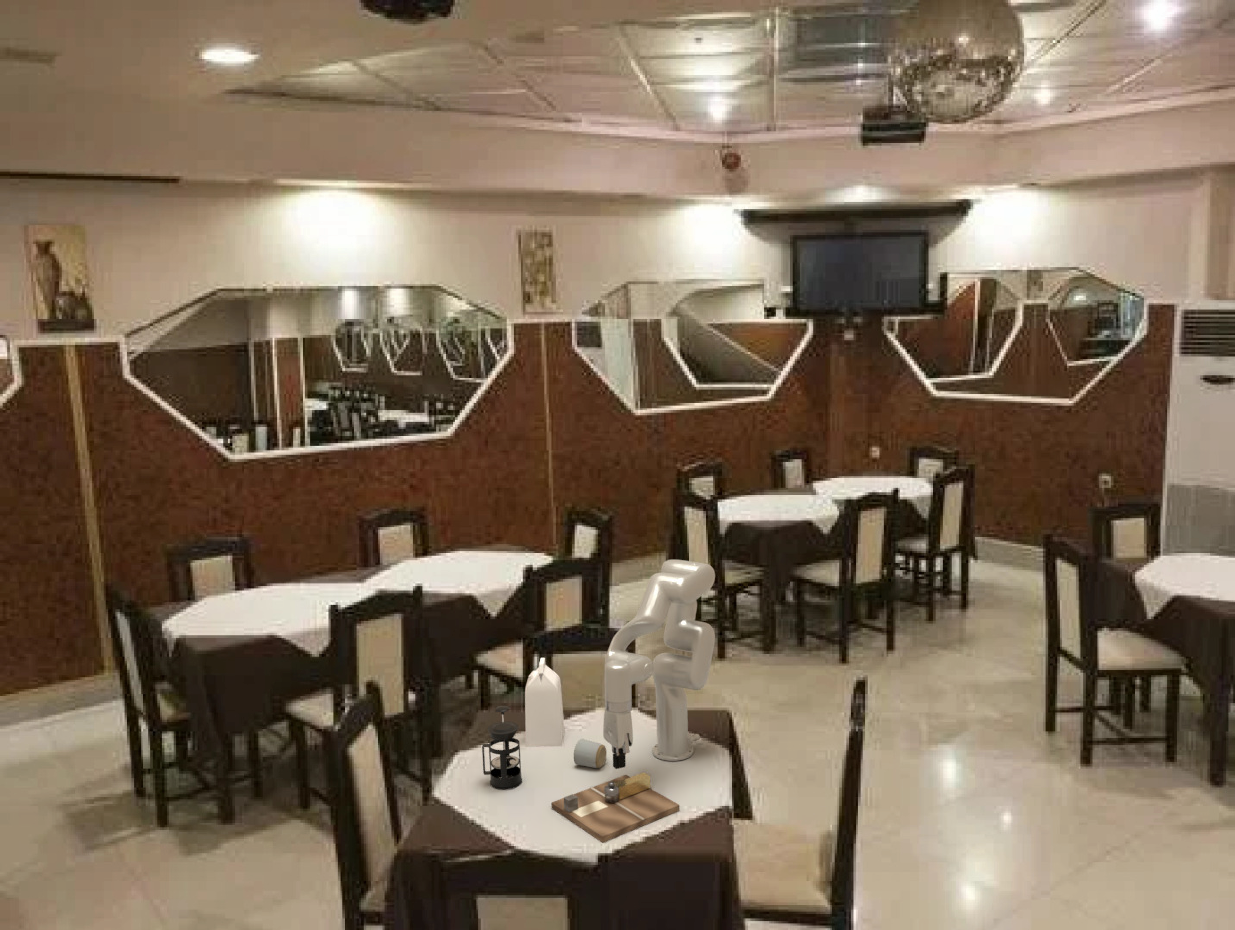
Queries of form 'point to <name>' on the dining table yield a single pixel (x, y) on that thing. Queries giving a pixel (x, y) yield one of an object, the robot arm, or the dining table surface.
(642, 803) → the board
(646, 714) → the dining table surface
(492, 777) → the french press
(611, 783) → the pin cap
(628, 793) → the bar
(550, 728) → the milk
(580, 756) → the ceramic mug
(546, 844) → the dining table surface
